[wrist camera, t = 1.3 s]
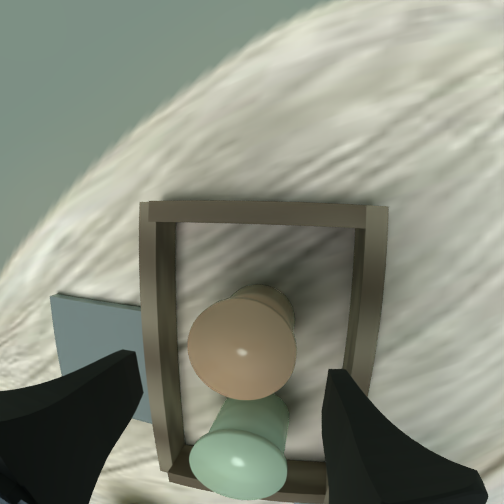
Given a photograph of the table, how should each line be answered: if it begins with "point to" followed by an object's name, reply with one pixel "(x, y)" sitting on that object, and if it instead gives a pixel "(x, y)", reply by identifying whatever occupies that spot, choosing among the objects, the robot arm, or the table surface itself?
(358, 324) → the frame
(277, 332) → the terracotta pot
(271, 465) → the green pot
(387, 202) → the table surface
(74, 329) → the slate slab
